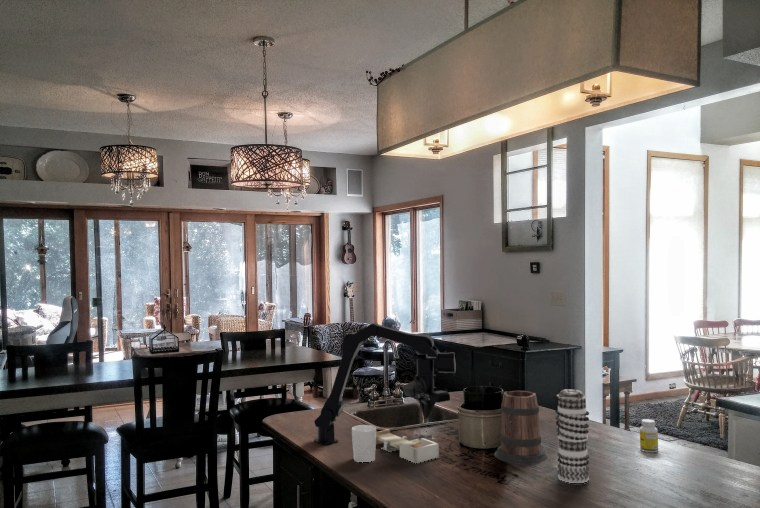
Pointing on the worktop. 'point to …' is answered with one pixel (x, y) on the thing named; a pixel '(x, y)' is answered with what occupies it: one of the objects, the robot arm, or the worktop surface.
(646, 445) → the supplement bottle
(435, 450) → the tray
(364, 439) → the white cup
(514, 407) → the tankard
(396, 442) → the lever
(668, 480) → the worktop surface
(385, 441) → the fulcrum
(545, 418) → the worktop surface
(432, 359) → the robot arm
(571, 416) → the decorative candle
